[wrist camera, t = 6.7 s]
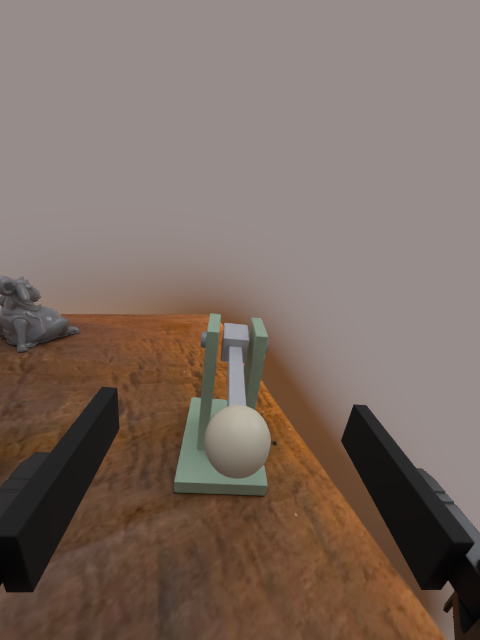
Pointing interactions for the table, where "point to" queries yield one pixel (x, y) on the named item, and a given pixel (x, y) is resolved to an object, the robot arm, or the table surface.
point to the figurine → (28, 316)
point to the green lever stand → (193, 460)
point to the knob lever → (236, 416)
